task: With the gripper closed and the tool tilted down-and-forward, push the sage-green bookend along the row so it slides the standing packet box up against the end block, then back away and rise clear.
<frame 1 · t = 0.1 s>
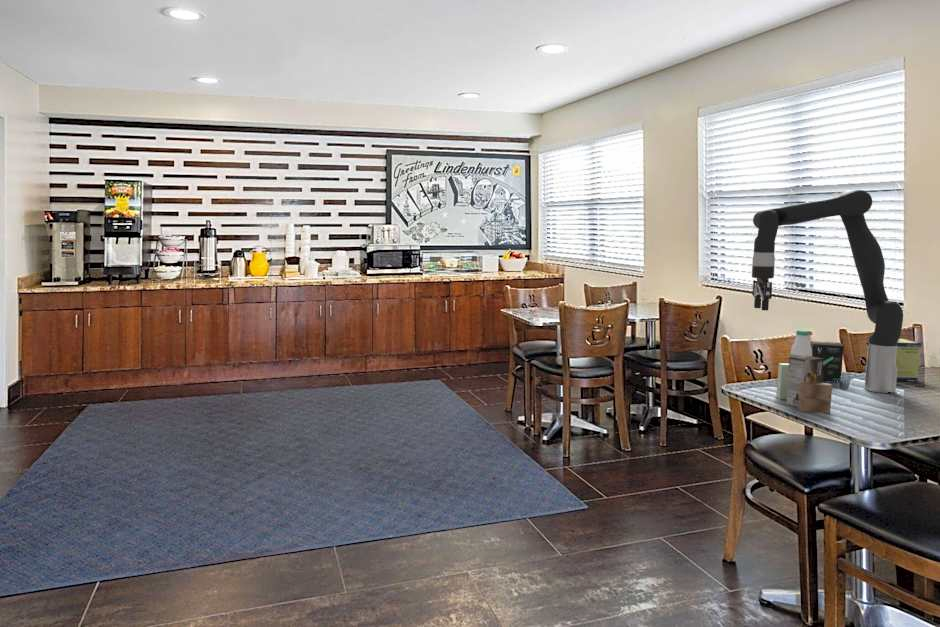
hand: (761, 309, 265), 29 cm above the table, tool pointing down, fingers open, 8 cm apart
coffee box: (803, 405, 241), on the table
end block: (813, 411, 233), on the table
milk bottle: (799, 382, 279), on the table
bookend: (790, 381, 250), point 6 cm above the table, slide at 0.0 cm
protein box: (890, 378, 290), on the table
tampon box: (824, 380, 285), on the table
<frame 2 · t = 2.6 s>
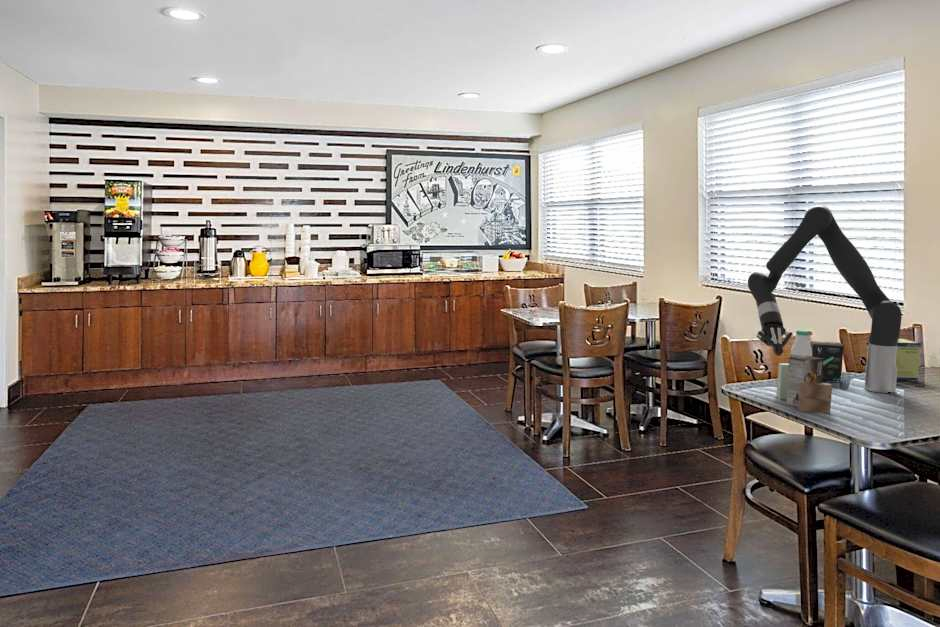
hand: (779, 354, 261), 13 cm above the table, tool tilted 45°, fingers closed
nothing on the table moved.
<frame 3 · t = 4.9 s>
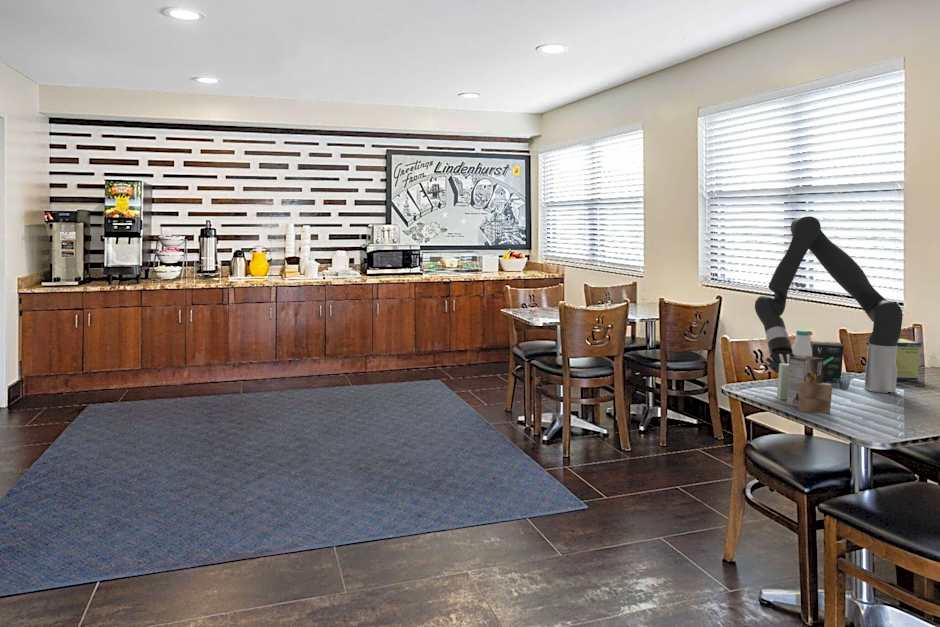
hand: (788, 382, 251), 5 cm above the table, tool tilted 45°, fingers closed
bookend: (791, 381, 249), point 6 cm above the table, slide at 0.5 cm, touching gripper
everything else where it was.
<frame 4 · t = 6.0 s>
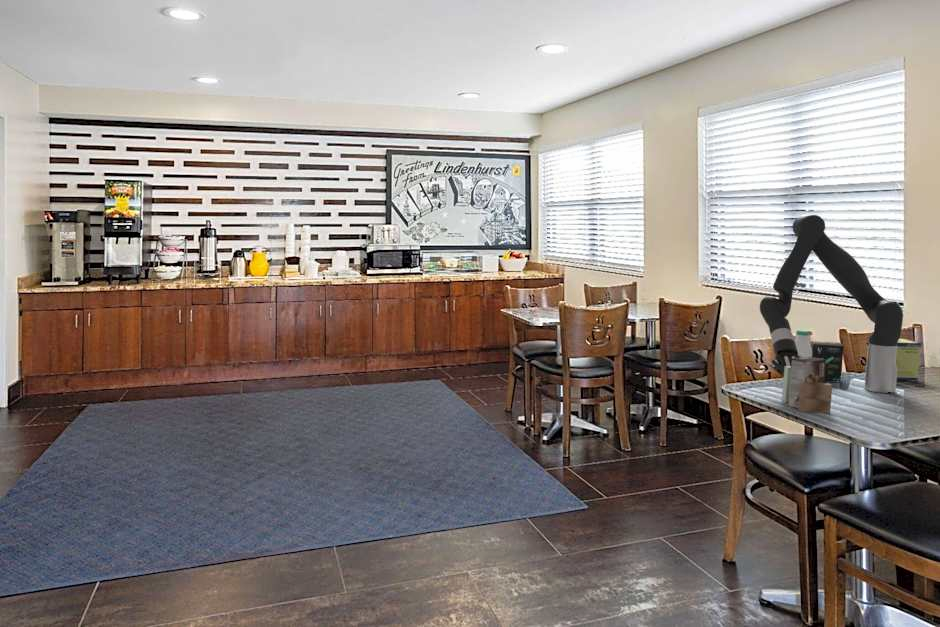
hand: (794, 385, 246), 5 cm above the table, tool tilted 45°, fingers closed
coffee box: (805, 407, 239), on the table, touching bookend, end block
bookend: (797, 384, 244), point 6 cm above the table, slide at 5.4 cm, touching gripper, coffee box
everything else where it was.
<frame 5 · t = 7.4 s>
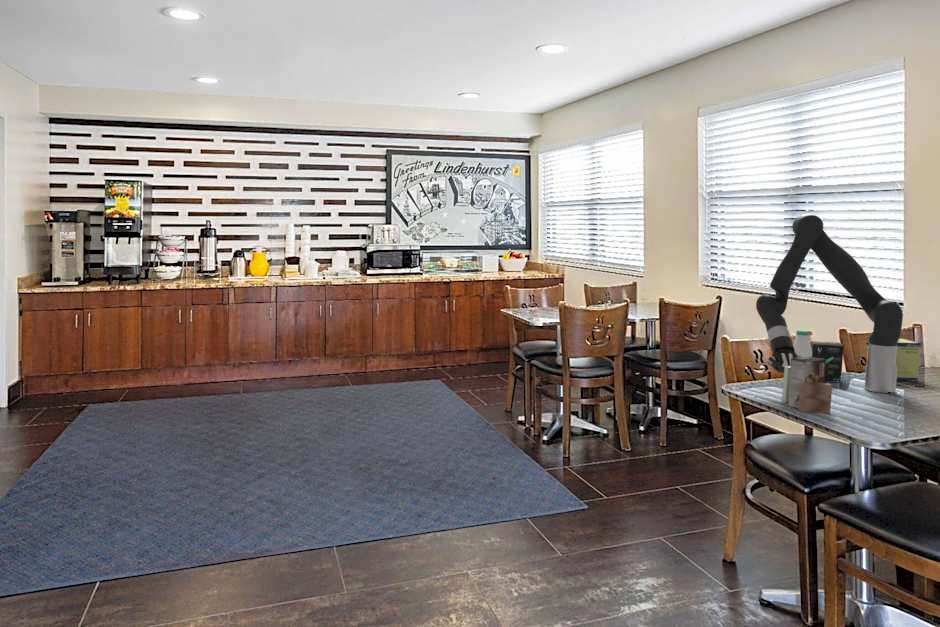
hand: (791, 381, 250), 6 cm above the table, tool tilted 45°, fingers closed
bookend: (797, 384, 244), point 6 cm above the table, slide at 5.4 cm, touching coffee box
everything else where it was.
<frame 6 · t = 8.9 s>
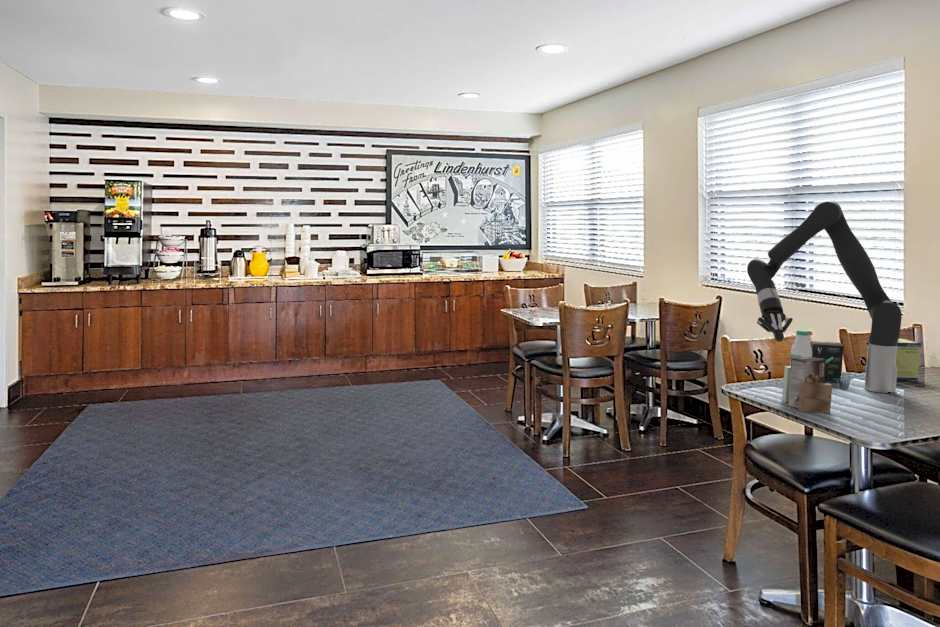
hand: (780, 339, 261), 19 cm above the table, tool tilted 45°, fingers closed
nothing on the table moved.
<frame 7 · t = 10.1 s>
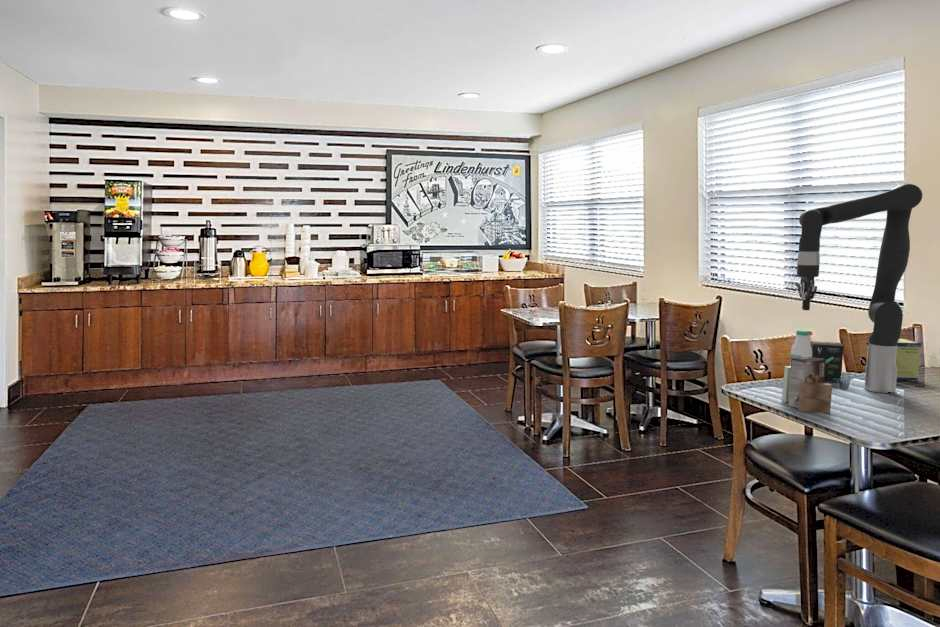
hand: (805, 310, 270), 29 cm above the table, tool pointing down, fingers closed
coffee box: (805, 407, 239), on the table, touching end block
bookend: (797, 384, 244), point 6 cm above the table, slide at 5.4 cm
everything else where it was.
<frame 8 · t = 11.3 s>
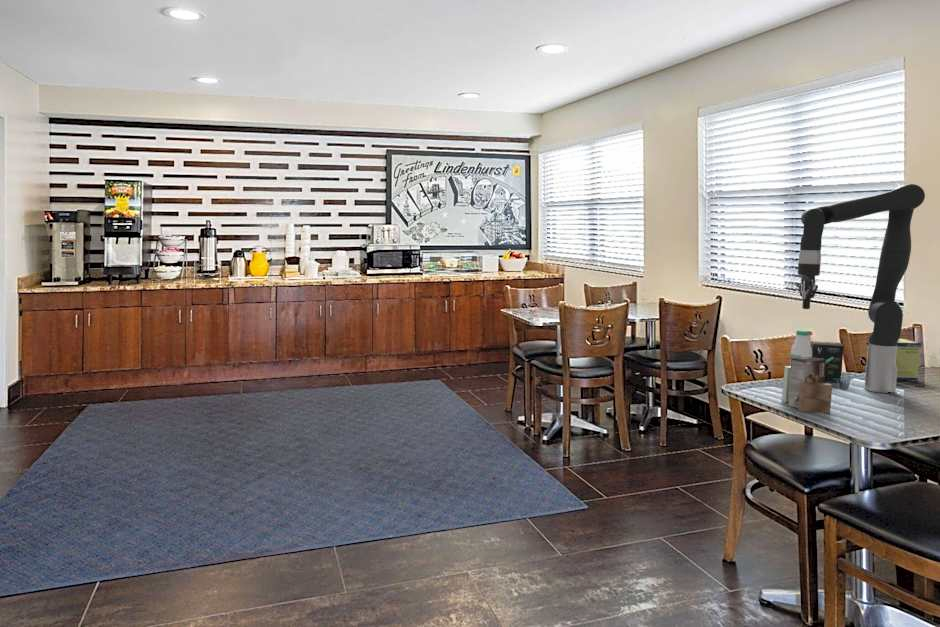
hand: (805, 308, 270), 29 cm above the table, tool pointing down, fingers closed
nothing on the table moved.
at the end: bookend slide at 5.4 cm; coffee box inside the target area (0.8 cm from its centre), on the table; coffee box tilted 0° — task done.
